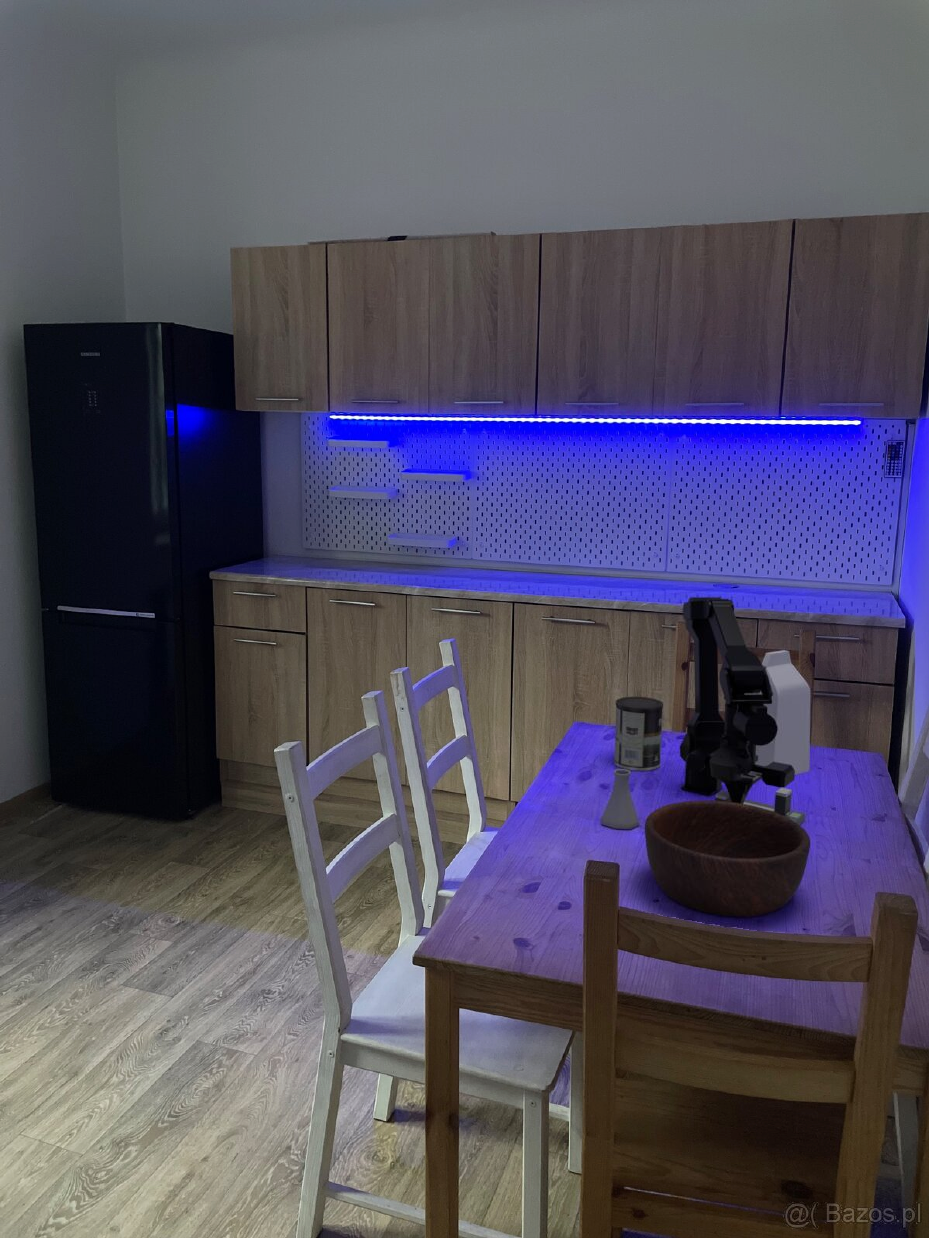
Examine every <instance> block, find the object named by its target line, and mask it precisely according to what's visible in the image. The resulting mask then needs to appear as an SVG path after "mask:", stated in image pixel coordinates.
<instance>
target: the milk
mask: <svg viewBox="0 0 929 1238" xmlns="http://www.w3.org/2000/svg"><path fill="white" fill-rule="evenodd" d="M761 663H762V665H763V667H764V668H765V670H766V672H767V675H768V678H769V681H770V685H771V688H772V692H773V696H772V697H771V698H772V704H764V705H765V706H767V708H768V709H767V713H768V714H769V715H770V716H772V717H773V718H774V719H775V721H776V724H777V726H778V731H777V735H776V737H775V738H774V739H773V741H771V742H770V743H769V744H767V745H763V746H758V745H756V755H758V761H757V762H756V765H761V766H767V765H769V764H770V763H772V762H778V763H783V764H789V765H792V767H793V768H794V770H795V776H796V775H799V774H804V773H807V772H810V767H811V766H810V764H811V763H810V762H811V760H810V757H811V756H810V753H811V752H810V751H811V750H810V749H811V748H810V747H811V688H810V686H809V684H808V682H807V681H806V679H805V678H804V677H803V676H802V675H801V674H800V672H799V671H798V669H797V668H796V666H794V665H793V663H792V659H791V654H790V651H789V650H785V649H782V650H777V651H776V650H775V651H771V652H766V653H765V655H764V657H763V660H762V662H761ZM754 694H762V692H761V691H760V692H759V693H754Z"/></svg>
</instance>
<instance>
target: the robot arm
mask: <svg viewBox="0 0 929 1238" xmlns="http://www.w3.org/2000/svg"><path fill="white" fill-rule="evenodd" d="M734 605H735V604H734V601H733V600H731V599H729V598H722V597H719V596H718V597H717V596H711V597H710V596H706V597H705V596H704V597H703V596H697V597H696V596H690V597H689V599H688V601H686V602H684V603H683V606H682V617H683V620H685V621H684V624H685V629H686V631H687V633H689V635H690V637H691V638H692V640H693V653H694V655H693V657H694V667H693V668H694V714H693V715H692V716H691V718H690V720H689V722H688V723H687V726H686V733H685V735H684V737H683V739H682V741H681V743H680V745H679V756H680V758H681V759H682V760H683V761H684V763H685V767H684V768H685V769H684V770H685V772H684V784H682V785H680V789H681V790H685V791H689V792H691V793H697V794H701V795H705V796H712V795H714V794H716V792H717V793H718V792H719V791H721V790H722V788H723V784H724V786H725V788H726V791H728V793H729V796H730V799H731V802H735V803H741V804H743V803H744V801H745V799H747V797H748V794H749V793H750V790H751V788H753V786H754V785H755V784H756V783H758V782H759V781H762V782H763V783H764V784H765V785H766V786H771V787H776V788H779V789H780V788H786V787H787V786H788V785H789V784H791V783H792V782H794V781H795V777H796V775H795V770H794V768H793V767H792V765H789V764H783V763H778V762H772V763H770V764H769V765H767V766H761V765H756V762H757V761H758V755H756V745H758V746H763V745H767V744H769V743H770V742H771V741H773V739H774V738H775V737H776V735H777V731H778V726H777V724H776V721H775V719H774V718H773V717H772V716H770V715H769V714H768V713H767V709H768V708H767V706H765V705H764V704H772V698H771V697H772V696H773V692H772V688H771V685H770V681H769V678H768V675H767V672H766V670H765V668H764V667H763V665H762V662H761V660H760V658H759V656H758V655H757V654H755V653H754V652H752V651H750V650H749V649H748V646H747V644H746V642H745V639H744V636H743V634H742V631H741V629H740V628H741V627H740V625H739V623H738V620H737V618H736V617H737V616H736V614H735V606H734ZM718 652H719V653H718ZM719 654H720V656H721V659H722V665H721V668H720V669H719ZM719 670H720V671H719ZM719 684H720V687H721V691H722V693H723V694H722V695H723V700H725V703H724V719H723V717H722V716H721V714H720V711H719V710H720V709H719V707H720V704H719V702H720V701H719V700H720V699H719ZM760 691H761V692H762V694H754V693H759V692H760Z"/></svg>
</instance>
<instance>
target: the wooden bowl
mask: <svg viewBox="0 0 929 1238" xmlns="http://www.w3.org/2000/svg"><path fill="white" fill-rule="evenodd" d="M644 836H645V837H644V838H645V846H646V847H645V848H646V854H647V859H648V864H649V868H650V870H651V872H652V875H653V877H654V879H655V881H656V883H657V884H658V886H659V888H660V889H661V890H662V891H663V892H664V893H665V894H666V895H667V896H668V897H669V898H671V899H672V900H673V901H675V902H677V903H679V904H680V905H683V906H685V907H687V908H690V909H693V910H696V911H699V912H702V913H707V914H711V915H716V916H723V917H736V918H737V917H738V918H739V917H740V918H741V917H745V918H746V917H747V918H748V917H757V916H764V915H767V914H770V913H774V912H775V911H777V910H779V909H781V908H783V907H784V906H785V905H787V904H788V903H789V902H790V900H791V899H792V898H793V897H794V895H795V893H796V892H797V890H798V888H799V886H800V884H801V882H802V881H803V877H804V874H805V870H806V866H807V864H808V858H809V854H810V849H811V839H810V838H811V837H810V836H809V834H808V831H806V830H805V828H803V827H802V826H801V825H799V824H797V823H796V822H794V821H793V820H791V819H789V818H787V817H785V816H783V815H781V814H778V813H776V812H773V811H770V810H767V809H763V808H760V807H756V806H751V805H747V804H741V803H735V802H726V801H715V800H705V799H704V800H690V801H689V800H688V801H681V802H678V801H677V802H673V803H671V804H666V805H664V806H661V807H658V808H657V809H655V810H652V812H651V813H650V814H649V815H648V816H647V817H646V819H645V822H644Z"/></svg>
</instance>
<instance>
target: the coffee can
mask: <svg viewBox="0 0 929 1238" xmlns="http://www.w3.org/2000/svg"><path fill="white" fill-rule="evenodd" d="M615 706H616V707H615V729H614V731H615V732H614V758H613V759H614V760H613V763H614V765H615V766H617V767H619V769H625V770H629V771H635V772H649V771H654V770H656V769H657V770H658V769H660V767H661V754H662V753H661V751H662V750H661V749H662V729H663V727H662V726H663V711H664V710H663V708H664V702H663V701H661V700H660V699H656V698H652V697H647V696H627V697H621V698H618V699H616V700H615Z"/></svg>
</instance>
